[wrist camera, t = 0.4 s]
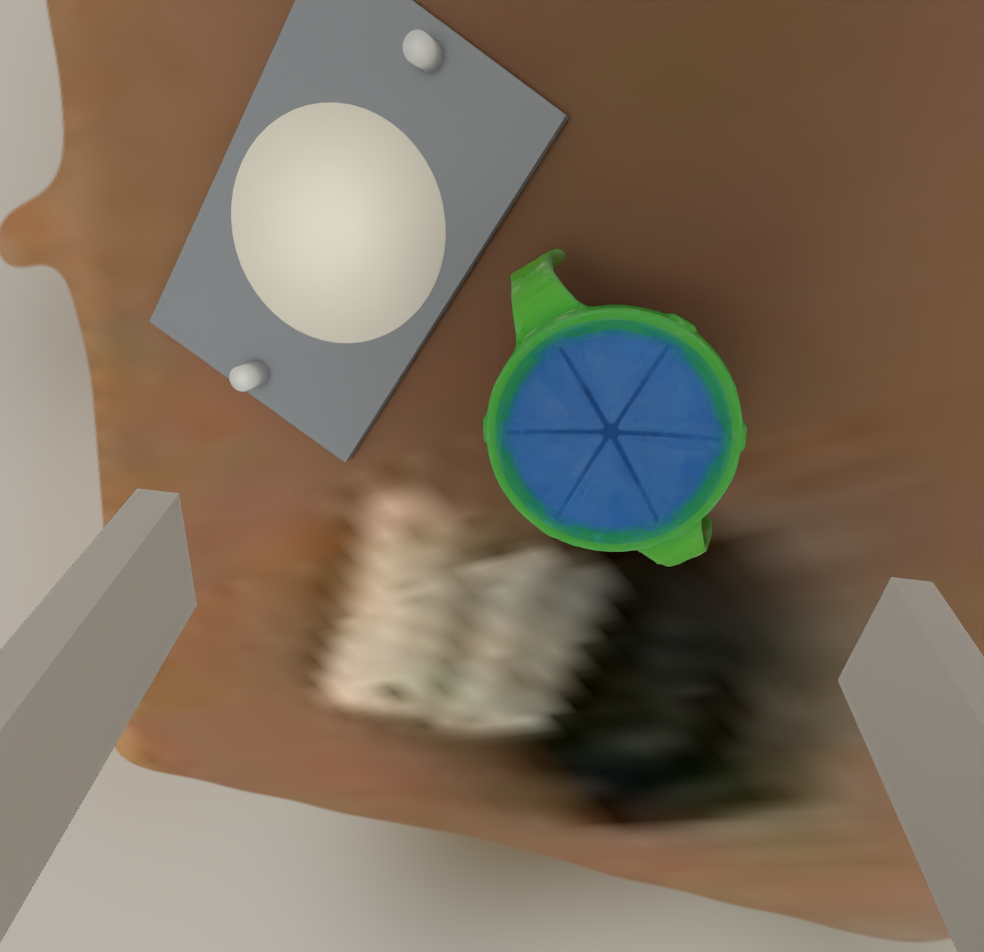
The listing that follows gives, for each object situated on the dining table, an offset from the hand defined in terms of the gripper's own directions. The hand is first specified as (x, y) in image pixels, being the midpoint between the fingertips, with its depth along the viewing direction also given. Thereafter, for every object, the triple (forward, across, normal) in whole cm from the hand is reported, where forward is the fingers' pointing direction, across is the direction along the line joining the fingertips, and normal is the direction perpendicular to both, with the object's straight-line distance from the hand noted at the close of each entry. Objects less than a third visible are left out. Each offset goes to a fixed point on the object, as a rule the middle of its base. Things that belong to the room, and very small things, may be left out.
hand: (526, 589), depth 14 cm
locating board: (+29, -10, -2) cm, 31 cm away
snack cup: (+26, +6, -7) cm, 27 cm away
